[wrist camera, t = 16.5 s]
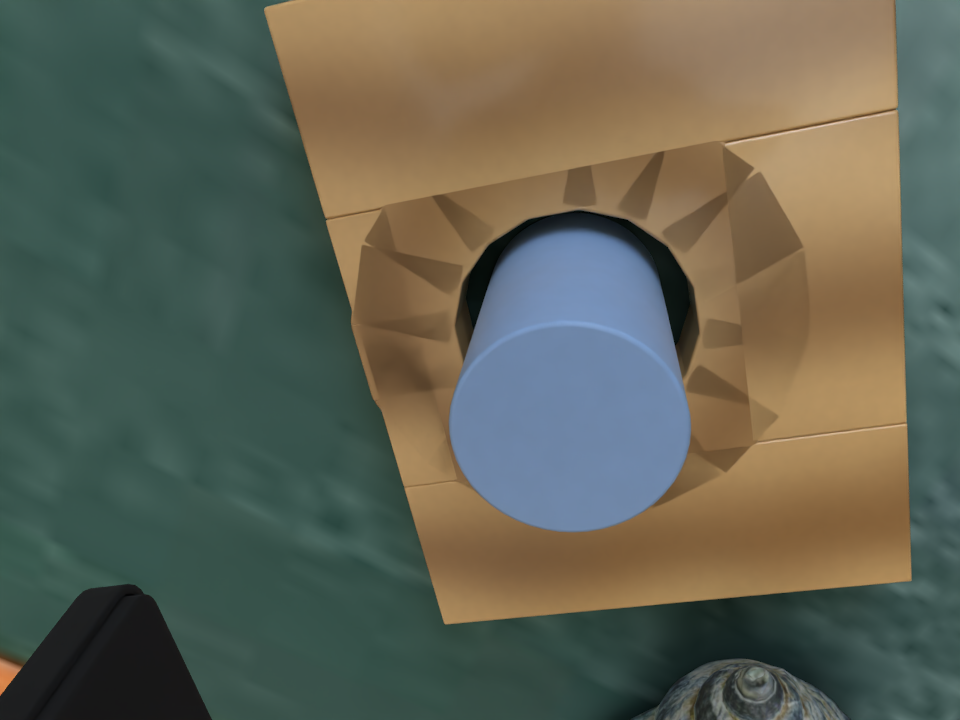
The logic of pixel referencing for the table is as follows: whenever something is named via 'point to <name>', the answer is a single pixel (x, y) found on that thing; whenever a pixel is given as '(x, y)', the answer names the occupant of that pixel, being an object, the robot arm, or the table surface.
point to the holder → (665, 216)
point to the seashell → (743, 695)
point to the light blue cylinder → (571, 380)
